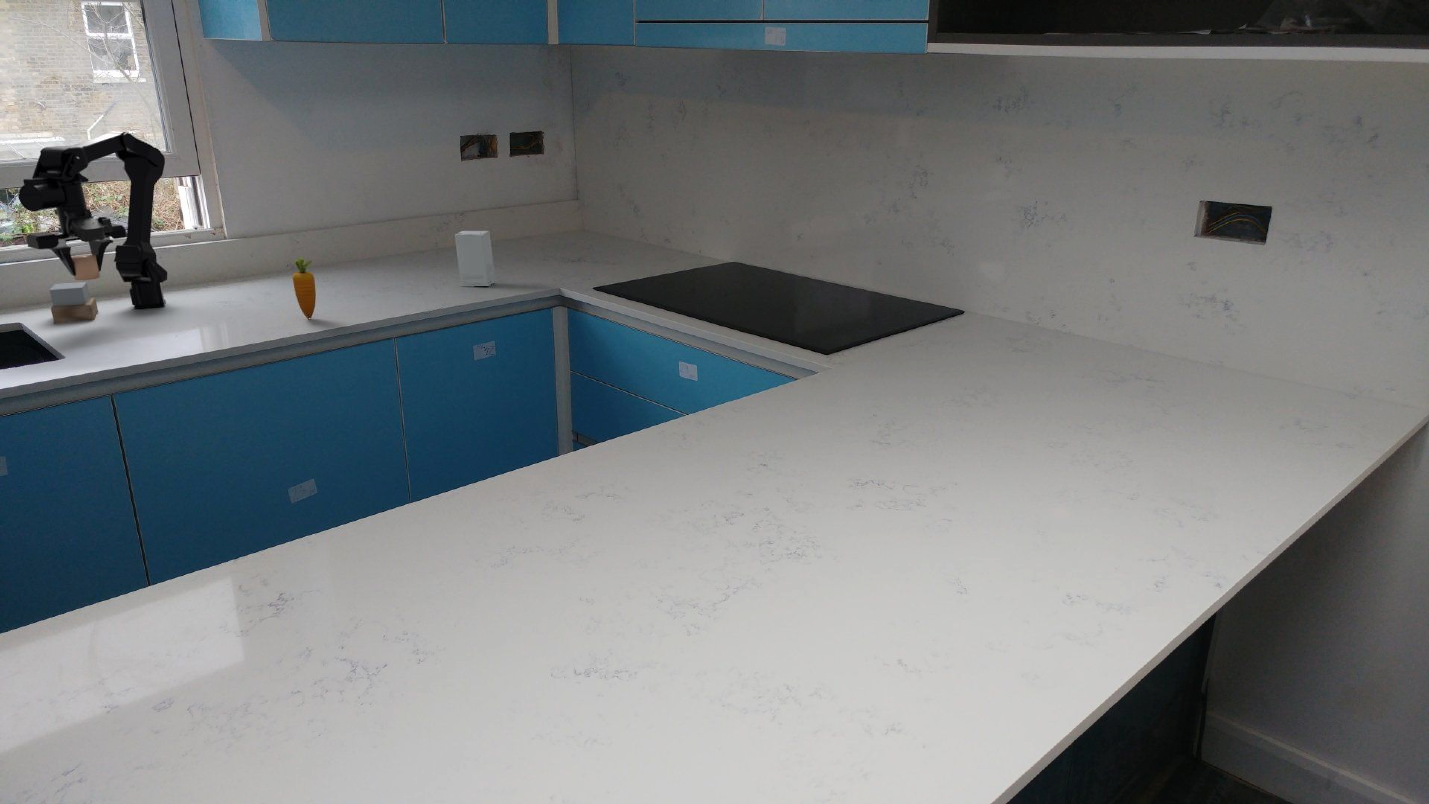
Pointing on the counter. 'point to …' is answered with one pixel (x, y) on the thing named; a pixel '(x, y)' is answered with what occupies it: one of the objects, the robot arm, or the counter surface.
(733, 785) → the counter surface
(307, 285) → the carrot
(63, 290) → the slate slab
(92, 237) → the robot arm
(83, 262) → the terracotta cylinder
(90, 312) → the walnut slab
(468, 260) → the skincare box
